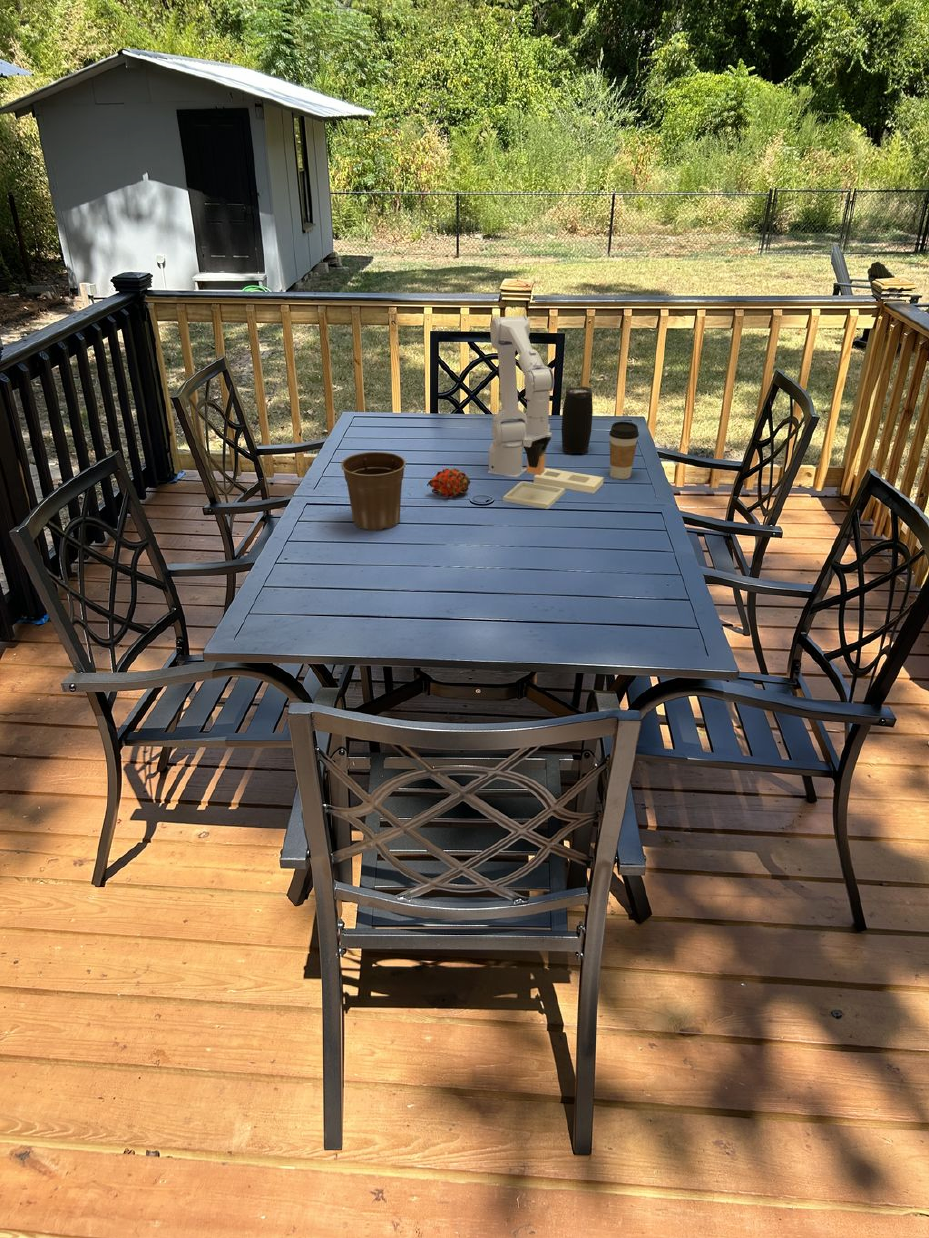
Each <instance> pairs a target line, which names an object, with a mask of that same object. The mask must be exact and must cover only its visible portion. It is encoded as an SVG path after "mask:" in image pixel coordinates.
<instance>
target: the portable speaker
mask: <svg viewBox="0 0 929 1238" xmlns="http://www.w3.org/2000/svg"><path fill="white" fill-rule="evenodd" d="M593 408H594V407H593V390H592V388H591V387H587V386H579V387H578V386H577V387H571V386H568V387H566V389H565V396H564V401H563V406H562V412H561V413H562V416H561V443H562V445H561V447H562V452H563V453H564V454H566V455H569V456H570V455H572V454H573V453H574V454H575V453H577V454H579V453H580V454H581V456H582V455H584V456H585V455H586V454H587V453H588V449H589V445H590V441H591V435H592V434H591V433H592V426H593V425H592V424H593V414H594V413H593V412H594V411H593V410H594V409H593Z"/></svg>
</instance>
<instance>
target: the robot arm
mask: <svg viewBox="0 0 929 1238" xmlns="http://www.w3.org/2000/svg"><path fill="white" fill-rule="evenodd" d="M490 322H491V323H490V327H489V328H490V329H489V331H490V332H489V333H490V343H491V348H492V349H495V350H496V352H497V357H498V358H497V359H498V373H499V376H498V377H499V388H500V401H501V402H500V403H501V408H500V409H501V410H499V411H498V412H497V413H496V414H495V415H494V416H493V418H492V427H491V432H492V433H491V434H492V439H493V441H492V442H491V444H490V446H489V450H488V471H487V473H488V474H489V473H490V474H495V475H500V476H501V475H502V476H506V477H512V478H519V477H520V475H522V474H523V473H524V472H526V471H527V467H523V459H524V458H523V453H524V451H525V454H526V458H527V459H528V463H529V467H534V468H536V467H537V466H538V462H539V456H540V452H541V450H547V448H548V445H549V443H550V441H551V440H552V436H553V433H552V432H550V431H551V424H550V423H549V417H550V415H549V414H550V412H549V411H550V395H551V394H550V393H551V392H552V391H553V390H554V386H555V378H554V372H553V370H552V368H551V367H548V366H547V365H546V366H545V364H544V362H543V359H542V358H541V354H539V352H538V351H537V350H536V349H534V348H533V347H532V344H531V342H530V341H531V340H530V338H529V337H530V333H531V322H530V319H529V317H528V316H527V315H526V314H524V315H523V314H522V315H517V316H516V315H513V316H500V317H498V316H494V317H493V318H492V320H491V321H490ZM516 351H517V354H518V355H519V356H518V360H517V361H516ZM517 362H518V365H519V367H520V369H521V371H522V373H523V375H524V387H525V398H526V399H527V400H526V401H527V402H526V403H527V404H526V413H525V412H523V411H522V410H521V409H520V408H519V398H518V394H519V393H518V381H517V377H518V376H517V367H516V366H517ZM527 459H526V460H527Z"/></svg>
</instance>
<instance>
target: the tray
mask: <svg viewBox="0 0 929 1238" xmlns="http://www.w3.org/2000/svg"><path fill="white" fill-rule="evenodd" d="M565 493H566V489H565V488H559V487H553V486H548V485H542V484H536V483H534V482H530V481H524V480H523V481H522V480H521V481H520V482H519V483H518V484H516V485H515V486H513V488H511V489H510V490H509V491H508V492H507V493H506V494H505V495H504V496H503V497H502V501H503V502H508V503H513V504H518V505H522V506H529V507H534V508H539V509H545V510H548V509H550V508H551V507H552V506H553V505H554V504H555V503H556V502H557V501H558V500H559V499H560V498H561V497H562V496H563V495H564V494H565Z"/></svg>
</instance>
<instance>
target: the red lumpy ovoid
mask: <svg viewBox="0 0 929 1238" xmlns="http://www.w3.org/2000/svg"><path fill="white" fill-rule="evenodd" d="M436 473H437V474H436V475H435V476H434V477H432V479H430V480H429V481H428V482H427V484H426V486H427V487H430V488H432V489H431V492H432V493H433V494H435V495H440V496H442V497H444V496H446V498H447V499H450V498H452V497H457V496H458V497H459V496H460V494H465V493H466V492H468V490H469V487H470V484H471V480H470V478H469V476H467V475H466V474H465V472H463V471H460V470H459V469H458V468H456V467H453V468H452V469H449V468H443V469H442V470H441V471H437V472H436Z"/></svg>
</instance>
